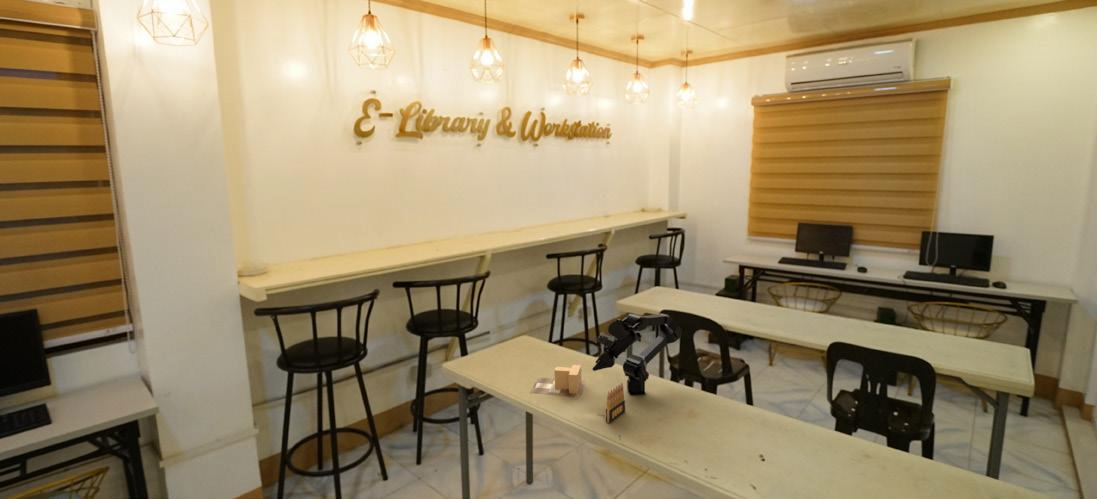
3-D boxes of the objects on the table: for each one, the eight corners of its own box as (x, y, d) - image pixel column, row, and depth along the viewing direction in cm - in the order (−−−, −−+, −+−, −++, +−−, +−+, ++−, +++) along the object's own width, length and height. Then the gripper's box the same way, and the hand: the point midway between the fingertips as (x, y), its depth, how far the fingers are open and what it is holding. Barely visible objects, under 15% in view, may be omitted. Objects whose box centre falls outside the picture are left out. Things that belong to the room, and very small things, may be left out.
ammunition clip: (609, 423, 189) (609, 393, 187) (605, 422, 190) (605, 391, 188) (625, 412, 197) (625, 382, 195) (621, 410, 198) (621, 381, 196)
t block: (581, 383, 219) (581, 365, 218) (577, 393, 210) (577, 375, 208) (558, 381, 222) (557, 363, 220) (553, 391, 212) (552, 373, 210)
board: (586, 384, 222) (586, 380, 221) (580, 400, 207) (580, 396, 207) (538, 380, 226) (538, 377, 226) (529, 396, 212) (529, 392, 212)
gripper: (611, 321, 217) (584, 345, 220) (606, 332, 198) (577, 358, 202) (630, 341, 216) (602, 365, 219) (626, 354, 197) (596, 379, 201)
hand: (594, 366), depth 210 cm, fingers open, 9 cm apart
